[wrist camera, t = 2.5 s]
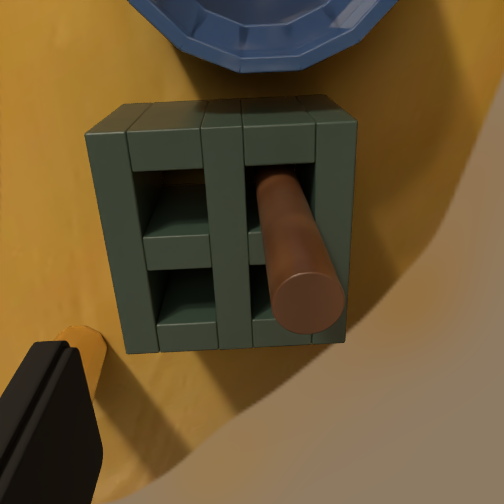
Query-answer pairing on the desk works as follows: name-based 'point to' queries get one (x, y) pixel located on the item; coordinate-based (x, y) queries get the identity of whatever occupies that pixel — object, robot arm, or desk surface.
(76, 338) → the beer glass
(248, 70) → the bowl
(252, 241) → the holder
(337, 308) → the stick
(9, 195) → the desk surface
